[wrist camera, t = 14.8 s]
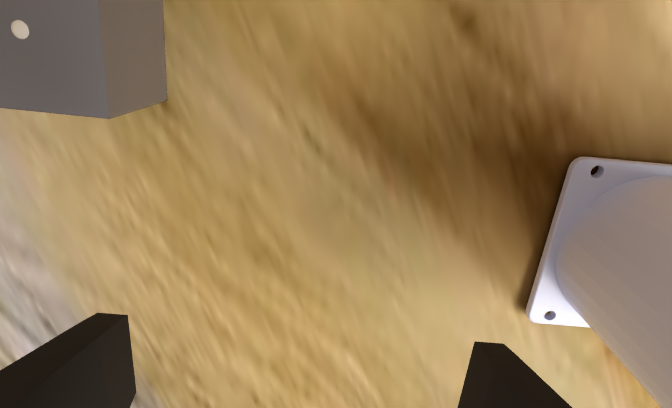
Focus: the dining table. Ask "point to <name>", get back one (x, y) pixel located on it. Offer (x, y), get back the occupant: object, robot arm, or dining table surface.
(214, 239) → the dining table surface
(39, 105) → the die
